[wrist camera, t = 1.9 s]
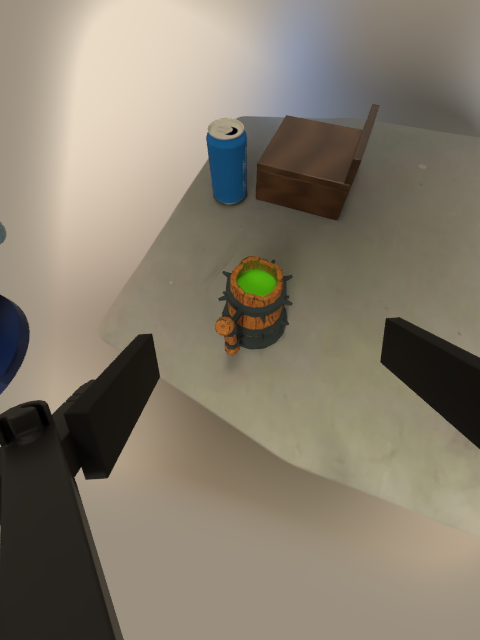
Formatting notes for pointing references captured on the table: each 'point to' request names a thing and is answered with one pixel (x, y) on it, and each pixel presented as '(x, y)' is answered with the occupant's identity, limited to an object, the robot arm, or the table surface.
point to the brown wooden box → (312, 164)
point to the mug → (253, 305)
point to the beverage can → (228, 159)
